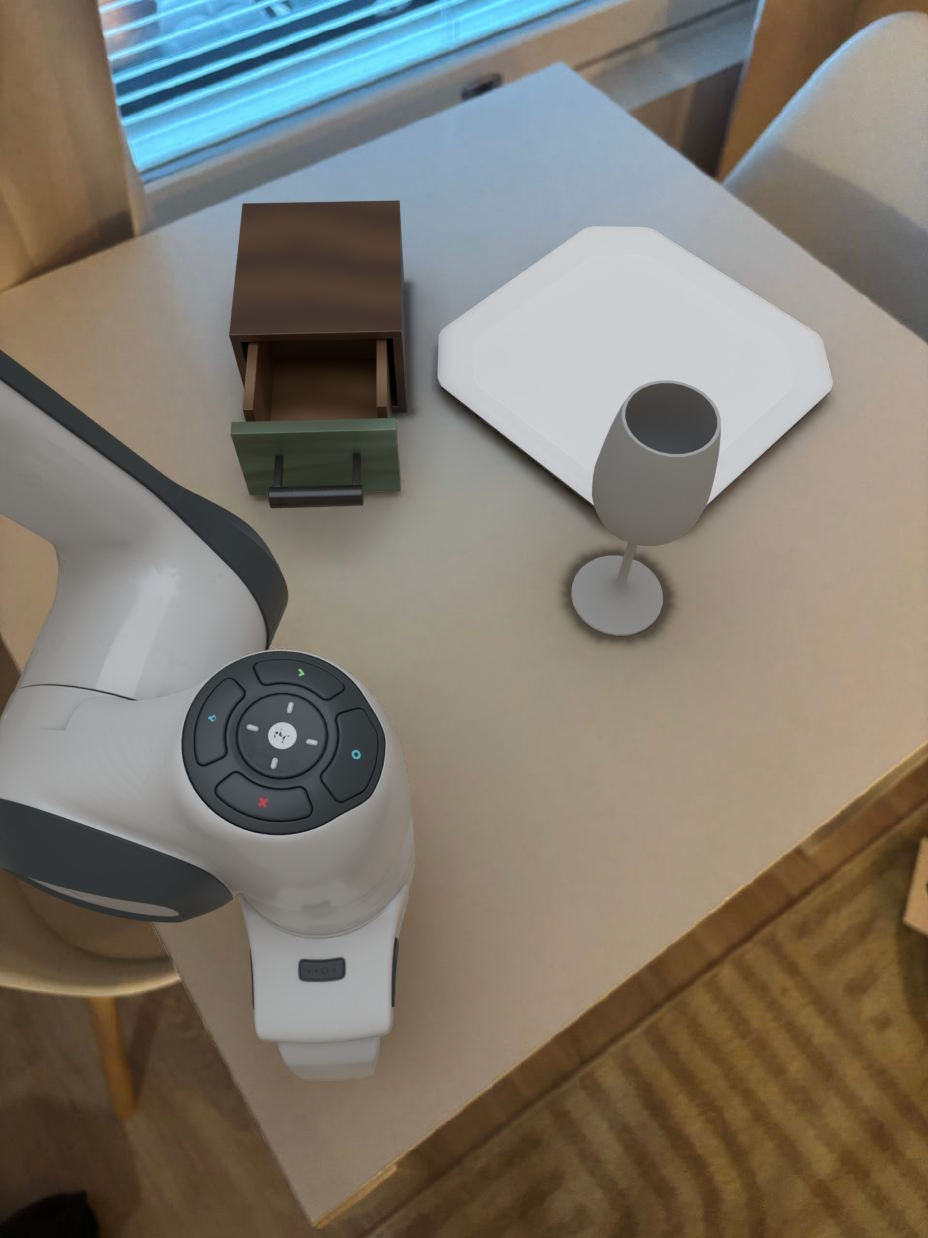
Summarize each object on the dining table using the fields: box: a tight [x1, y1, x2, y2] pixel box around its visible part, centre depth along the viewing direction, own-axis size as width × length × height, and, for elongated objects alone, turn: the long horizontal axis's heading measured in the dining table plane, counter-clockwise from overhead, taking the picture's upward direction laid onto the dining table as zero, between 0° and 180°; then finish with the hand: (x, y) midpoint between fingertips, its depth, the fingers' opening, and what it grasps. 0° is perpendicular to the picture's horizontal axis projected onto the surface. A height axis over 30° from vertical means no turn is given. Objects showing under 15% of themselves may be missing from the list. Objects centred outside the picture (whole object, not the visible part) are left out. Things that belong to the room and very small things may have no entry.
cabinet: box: [228, 199, 408, 414], centre depth 82 cm, size 16×14×10 cm
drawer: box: [230, 338, 402, 509], centre depth 76 cm, size 19×12×8 cm, turn 3°
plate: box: [436, 225, 834, 509], centre depth 84 cm, size 29×29×2 cm
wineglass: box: [570, 380, 721, 637], centre depth 65 cm, size 8×8×21 cm
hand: (349, 907), depth 60 cm, fingers closed on block, 4 cm apart
